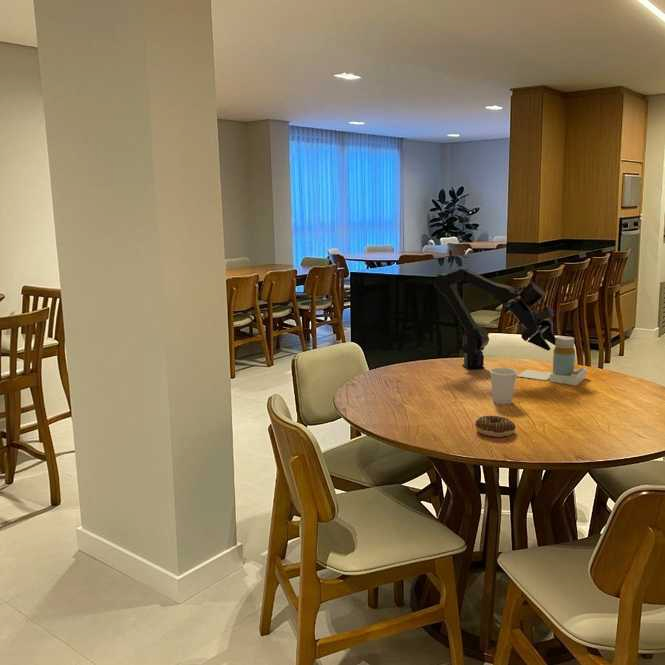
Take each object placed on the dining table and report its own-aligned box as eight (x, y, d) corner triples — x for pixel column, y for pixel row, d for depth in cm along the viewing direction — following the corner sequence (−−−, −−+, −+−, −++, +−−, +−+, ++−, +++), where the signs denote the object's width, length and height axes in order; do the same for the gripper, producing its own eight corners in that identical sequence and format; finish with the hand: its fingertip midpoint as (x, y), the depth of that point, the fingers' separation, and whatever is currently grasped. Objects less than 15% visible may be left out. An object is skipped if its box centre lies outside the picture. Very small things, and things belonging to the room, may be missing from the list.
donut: (467, 433, 179) (467, 419, 179) (488, 424, 187) (488, 410, 186) (501, 442, 172) (502, 427, 171) (522, 432, 179) (523, 418, 178)
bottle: (575, 378, 234) (577, 337, 231) (570, 382, 228) (573, 340, 225) (555, 376, 238) (557, 335, 235) (550, 380, 232) (552, 338, 229)
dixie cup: (519, 405, 203) (520, 374, 201) (491, 405, 203) (492, 374, 201) (512, 397, 211) (513, 367, 209) (486, 398, 211) (487, 367, 209)
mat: (516, 376, 237) (516, 375, 237) (526, 370, 246) (526, 369, 246) (546, 381, 231) (546, 380, 231) (556, 374, 240) (556, 373, 240)
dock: (548, 381, 230) (549, 371, 229) (559, 374, 239) (559, 364, 239) (576, 385, 225) (576, 374, 224) (585, 378, 234) (586, 367, 233)
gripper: (531, 303, 226) (562, 337, 221) (548, 296, 241) (578, 329, 236) (508, 323, 232) (538, 357, 227) (526, 316, 247) (555, 348, 242)
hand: (553, 347), depth 233 cm, fingers open, 9 cm apart
